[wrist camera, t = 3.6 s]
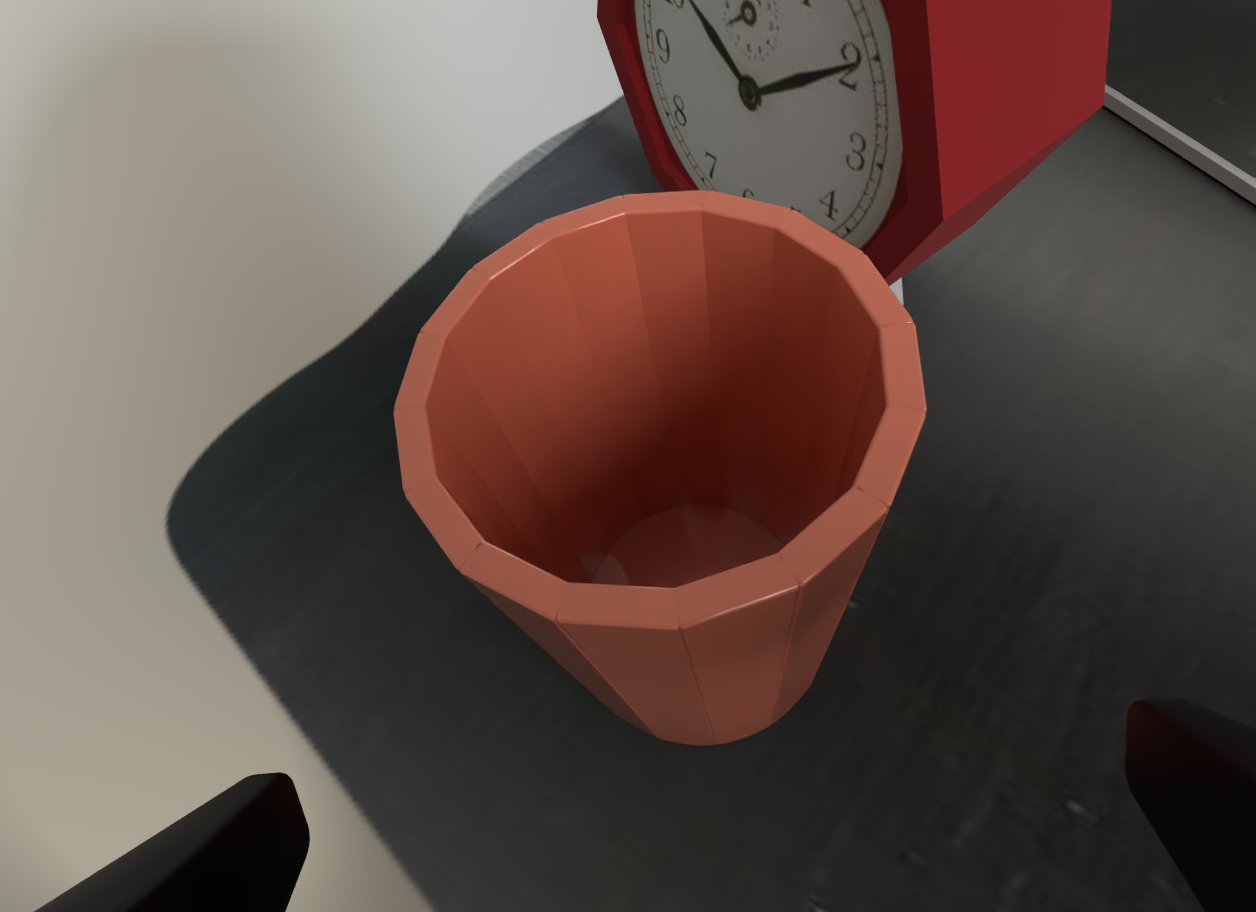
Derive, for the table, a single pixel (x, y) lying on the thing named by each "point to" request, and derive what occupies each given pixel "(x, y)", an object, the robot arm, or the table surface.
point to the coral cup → (666, 447)
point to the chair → (1182, 144)
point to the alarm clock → (859, 105)
